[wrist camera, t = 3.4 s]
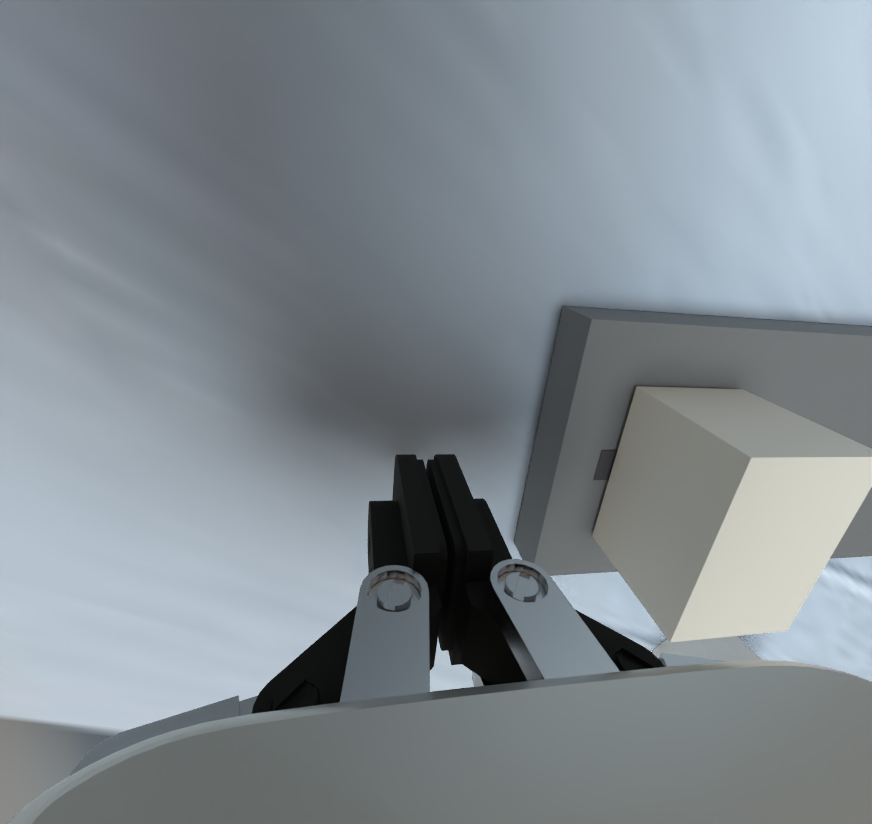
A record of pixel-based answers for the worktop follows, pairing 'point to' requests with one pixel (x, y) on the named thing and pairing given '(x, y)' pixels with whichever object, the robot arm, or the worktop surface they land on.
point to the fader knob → (726, 509)
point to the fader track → (686, 368)
